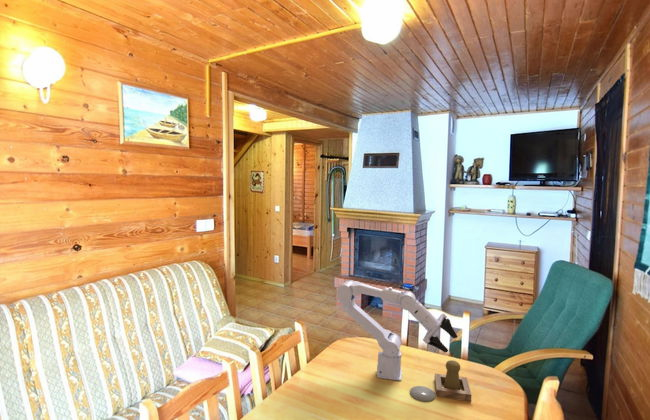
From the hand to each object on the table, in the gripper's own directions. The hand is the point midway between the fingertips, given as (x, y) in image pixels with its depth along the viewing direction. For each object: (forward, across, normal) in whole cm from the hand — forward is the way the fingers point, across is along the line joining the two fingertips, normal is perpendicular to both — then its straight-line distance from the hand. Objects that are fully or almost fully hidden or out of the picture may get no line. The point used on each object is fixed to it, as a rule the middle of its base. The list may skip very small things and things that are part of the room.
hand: (451, 344), depth 139 cm
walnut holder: (+12, -9, +8) cm, 17 cm away
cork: (+12, -10, +8) cm, 17 cm away
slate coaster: (+4, -19, +8) cm, 21 cm away
